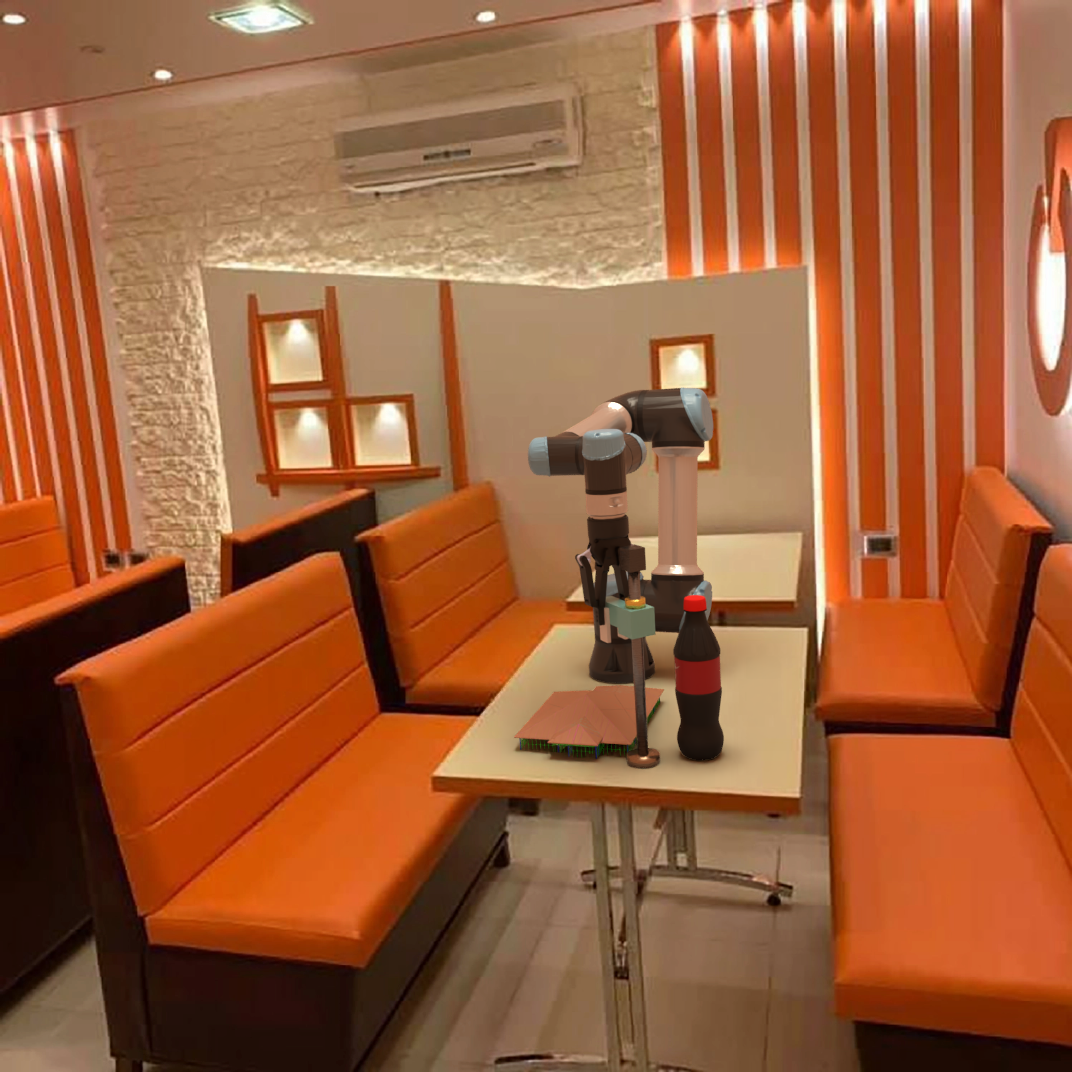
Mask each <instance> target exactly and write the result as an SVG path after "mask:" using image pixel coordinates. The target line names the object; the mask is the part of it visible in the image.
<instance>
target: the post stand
mask: <svg viewBox="0 0 1072 1072" xmlns="http://www.w3.org/2000/svg"><path fill="white" fill-rule="evenodd" d="M620 558H621V570H624V571H627V572H628V582H629V597H627V598H625V608H627V609H632V610H634V609H642V608H645V607H646V603H645V597H642V596H641V594H640V574H639V571H640V572H642V571H646V570H647V562H646V561H647V560H646V547H644V546H642V545H639V546H638V544H635V545H631V546H625V547H620ZM632 658H633V677H634V682H633V686H634V696H635V715H636V734H637V736H636V741H637V743H636V748H633V749H632V748H631V749H632V750H631V749H629V750H628V752H627V751H626V763H627V765H628V766H629V767H631V768H635V769H650V768H654V767H656V766H659V764H660V763H661V756H660V755H661V754H660V751H659V750H657V749H655V748H653V747H649V737H648V736H649V734H648V725H647V722H648V718H647V712H646V693H645V687H646V679H645V673H644V653H643V637H642V638H637V639H632Z"/></svg>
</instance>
